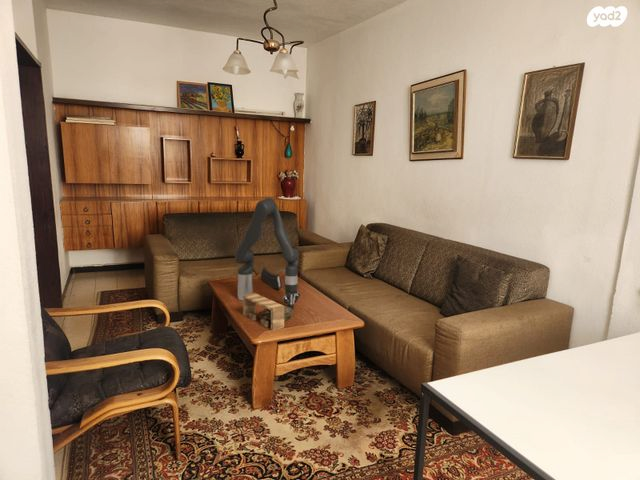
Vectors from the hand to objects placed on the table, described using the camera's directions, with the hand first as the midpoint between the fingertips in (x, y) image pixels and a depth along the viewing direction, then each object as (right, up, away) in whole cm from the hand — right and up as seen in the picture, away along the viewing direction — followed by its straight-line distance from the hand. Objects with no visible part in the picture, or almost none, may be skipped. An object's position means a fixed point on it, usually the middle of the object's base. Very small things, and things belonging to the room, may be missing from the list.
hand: (290, 310), depth 244 cm
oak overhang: (-15, -4, -13) cm, 20 cm away
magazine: (-18, +9, +52) cm, 56 cm away
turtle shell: (-8, -4, -9) cm, 13 cm away
